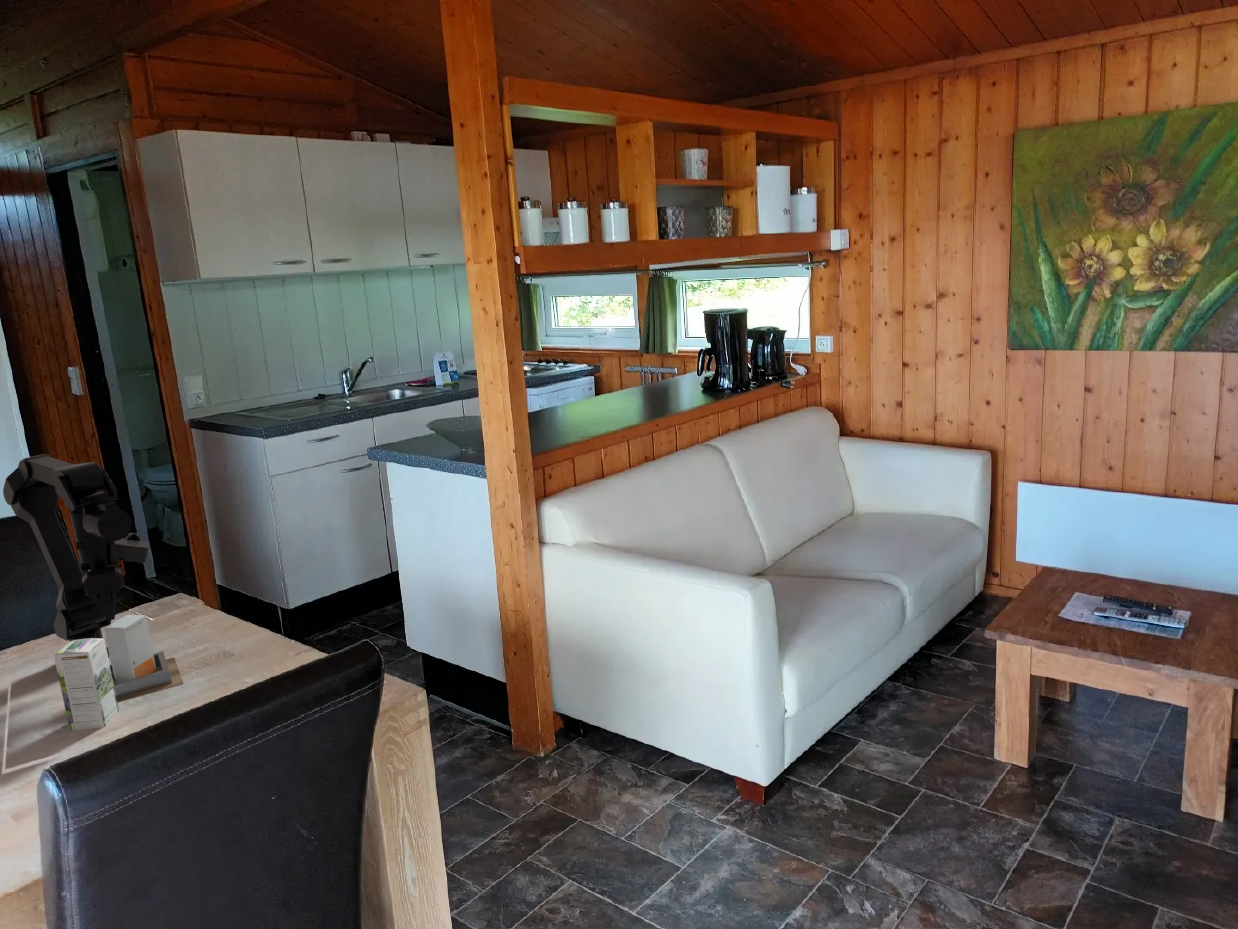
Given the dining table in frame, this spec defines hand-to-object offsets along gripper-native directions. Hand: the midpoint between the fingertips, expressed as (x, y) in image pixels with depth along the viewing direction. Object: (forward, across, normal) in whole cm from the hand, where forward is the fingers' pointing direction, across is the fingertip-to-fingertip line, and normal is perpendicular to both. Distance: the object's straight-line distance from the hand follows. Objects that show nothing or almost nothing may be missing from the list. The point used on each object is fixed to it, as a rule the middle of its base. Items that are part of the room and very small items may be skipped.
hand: (109, 612), depth 171 cm
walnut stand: (+13, -6, -2) cm, 14 cm away
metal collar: (+12, -6, -2) cm, 14 cm away
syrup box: (+13, -18, +6) cm, 23 cm away
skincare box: (+13, -6, -2) cm, 14 cm away
